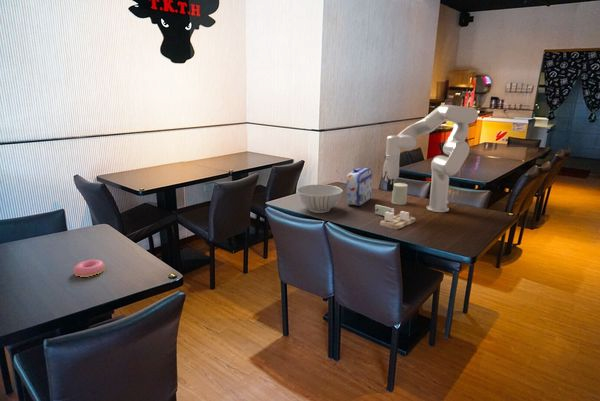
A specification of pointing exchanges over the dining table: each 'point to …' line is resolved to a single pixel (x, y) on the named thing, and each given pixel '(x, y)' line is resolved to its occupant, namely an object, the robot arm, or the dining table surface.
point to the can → (399, 194)
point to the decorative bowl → (319, 197)
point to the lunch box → (359, 186)
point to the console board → (397, 222)
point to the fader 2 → (404, 215)
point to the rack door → (382, 210)
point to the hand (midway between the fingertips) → (389, 190)
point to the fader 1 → (389, 216)
